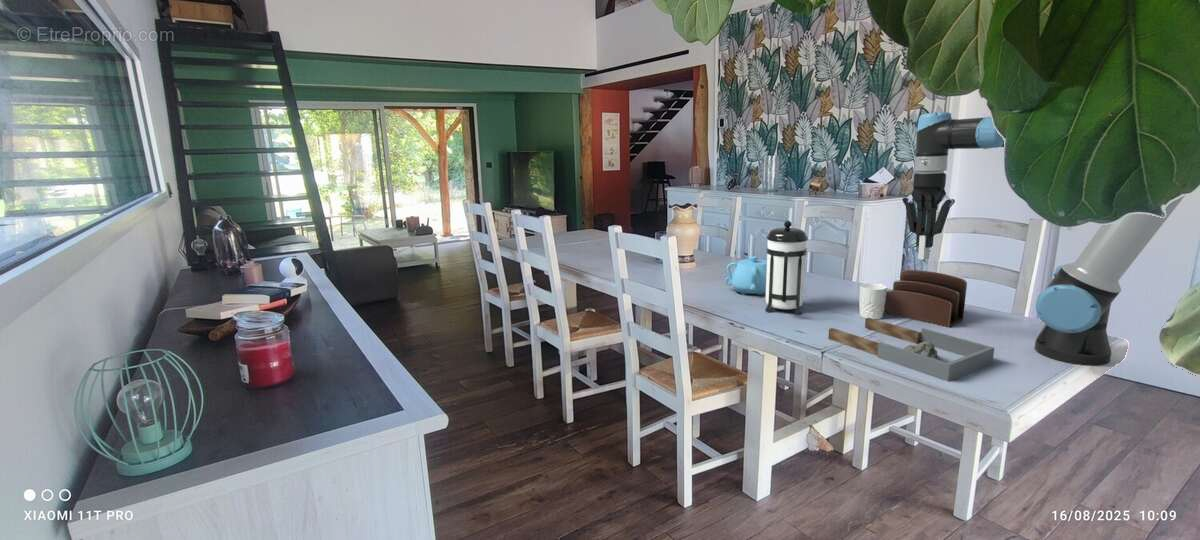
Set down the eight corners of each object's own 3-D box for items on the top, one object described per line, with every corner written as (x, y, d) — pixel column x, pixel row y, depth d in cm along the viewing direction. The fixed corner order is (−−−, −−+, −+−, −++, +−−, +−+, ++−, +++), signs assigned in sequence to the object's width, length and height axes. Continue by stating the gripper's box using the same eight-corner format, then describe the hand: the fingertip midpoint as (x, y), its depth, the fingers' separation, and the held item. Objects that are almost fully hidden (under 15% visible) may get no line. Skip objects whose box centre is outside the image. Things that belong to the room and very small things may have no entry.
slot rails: (920, 342, 156) (921, 332, 156) (879, 356, 148) (880, 345, 147) (867, 327, 170) (868, 317, 169) (828, 338, 161) (828, 328, 160)
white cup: (878, 312, 183) (881, 282, 181) (888, 320, 175) (891, 289, 173) (853, 312, 184) (856, 283, 182) (862, 320, 176) (864, 289, 174)
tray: (992, 362, 142) (994, 347, 141) (947, 381, 132) (949, 365, 131) (922, 341, 157) (923, 328, 156) (877, 357, 147) (878, 342, 146)
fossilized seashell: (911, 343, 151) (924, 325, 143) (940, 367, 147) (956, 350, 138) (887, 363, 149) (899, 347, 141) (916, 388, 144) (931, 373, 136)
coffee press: (749, 306, 193) (751, 220, 187) (786, 300, 199) (790, 216, 192) (782, 320, 178) (787, 227, 171) (822, 313, 183) (828, 222, 177)
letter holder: (898, 307, 189) (902, 266, 185) (963, 321, 173) (969, 277, 170) (883, 313, 183) (887, 271, 180) (949, 328, 167) (954, 282, 164)
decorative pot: (755, 284, 222) (756, 250, 219) (784, 293, 208) (785, 257, 205) (721, 290, 216) (722, 255, 213) (749, 299, 201) (750, 262, 198)
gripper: (898, 172, 154) (892, 257, 159) (948, 173, 143) (940, 264, 148) (913, 171, 158) (907, 253, 163) (963, 171, 147) (955, 260, 152)
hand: (923, 258), depth 155 cm, fingers closed
